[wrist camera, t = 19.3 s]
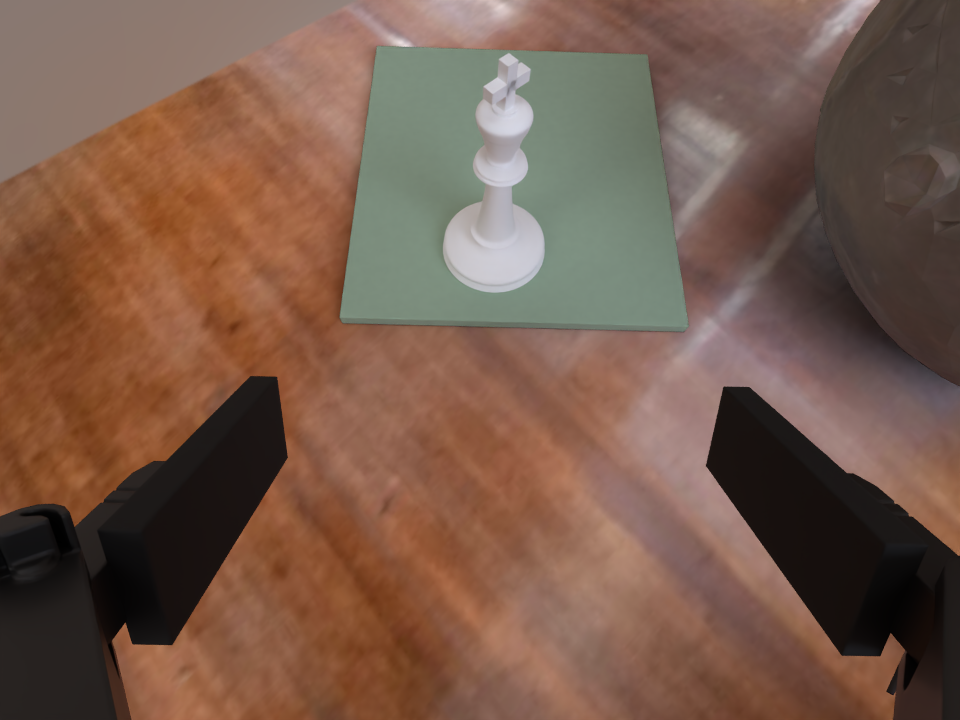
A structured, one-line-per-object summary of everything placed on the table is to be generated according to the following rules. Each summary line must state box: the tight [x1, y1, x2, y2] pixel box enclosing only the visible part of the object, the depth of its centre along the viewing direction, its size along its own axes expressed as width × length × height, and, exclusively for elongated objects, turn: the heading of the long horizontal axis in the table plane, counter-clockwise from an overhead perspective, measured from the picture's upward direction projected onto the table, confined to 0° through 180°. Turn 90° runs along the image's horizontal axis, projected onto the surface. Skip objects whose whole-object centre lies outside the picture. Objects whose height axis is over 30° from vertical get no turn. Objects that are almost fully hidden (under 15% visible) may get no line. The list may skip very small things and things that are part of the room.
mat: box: [340, 46, 689, 332], centre depth 28 cm, size 16×18×1 cm
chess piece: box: [443, 53, 545, 293], centre depth 21 cm, size 5×5×10 cm
